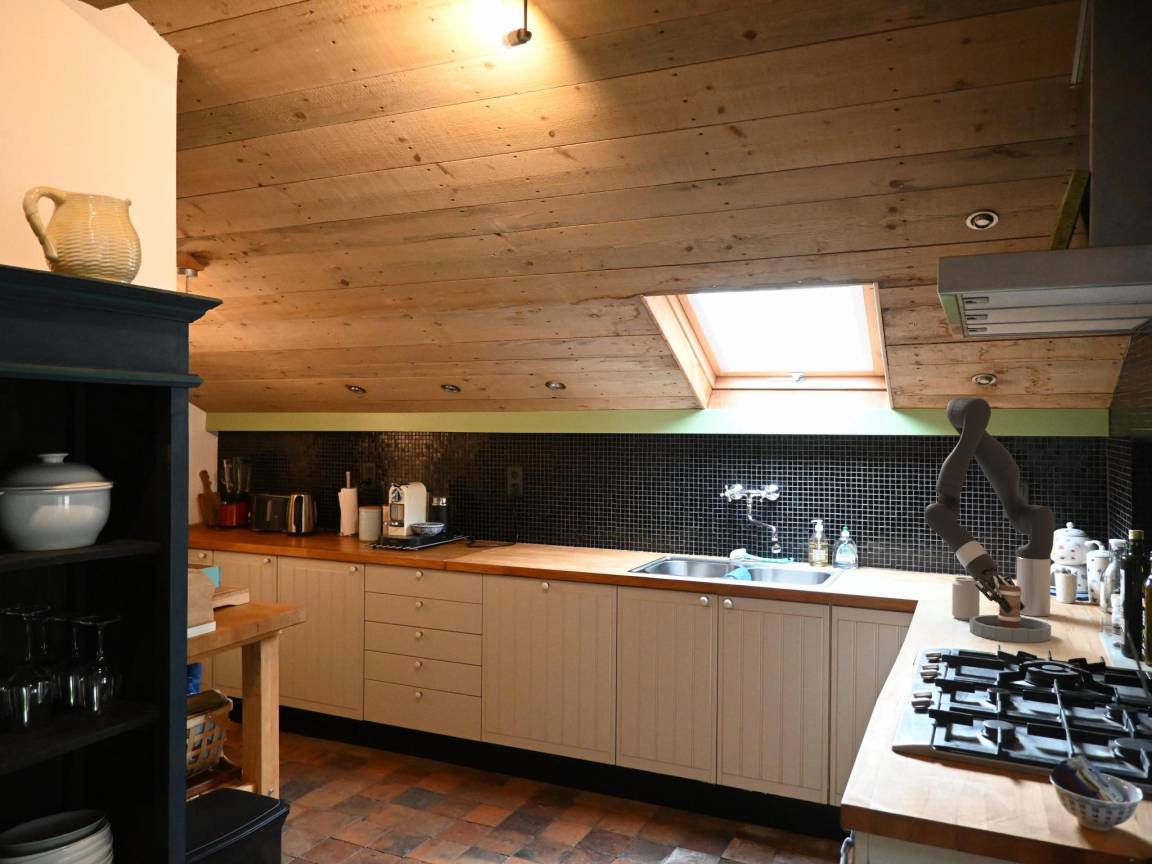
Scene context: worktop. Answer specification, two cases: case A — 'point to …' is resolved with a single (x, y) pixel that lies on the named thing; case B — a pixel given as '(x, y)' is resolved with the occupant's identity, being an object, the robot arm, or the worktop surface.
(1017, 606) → the brown banded canister
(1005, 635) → the round tray
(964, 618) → the wide mouth jar
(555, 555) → the worktop surface
